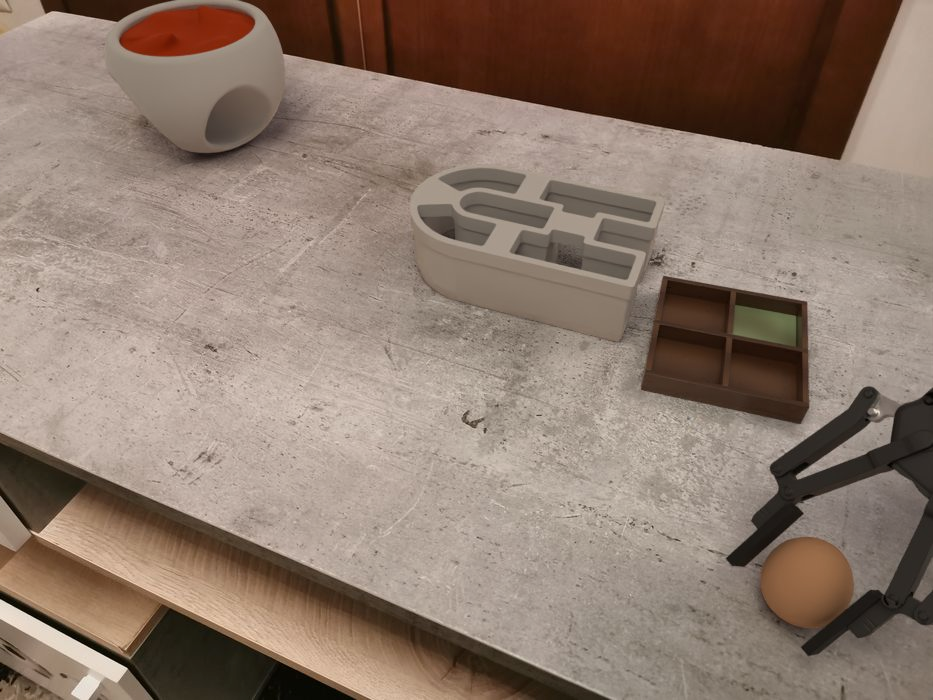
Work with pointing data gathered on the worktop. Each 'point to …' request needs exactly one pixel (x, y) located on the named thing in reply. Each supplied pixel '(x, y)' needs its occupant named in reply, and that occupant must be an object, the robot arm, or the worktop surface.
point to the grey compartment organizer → (534, 245)
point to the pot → (199, 70)
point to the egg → (807, 582)
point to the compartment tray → (730, 349)
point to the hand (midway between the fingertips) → (770, 604)
